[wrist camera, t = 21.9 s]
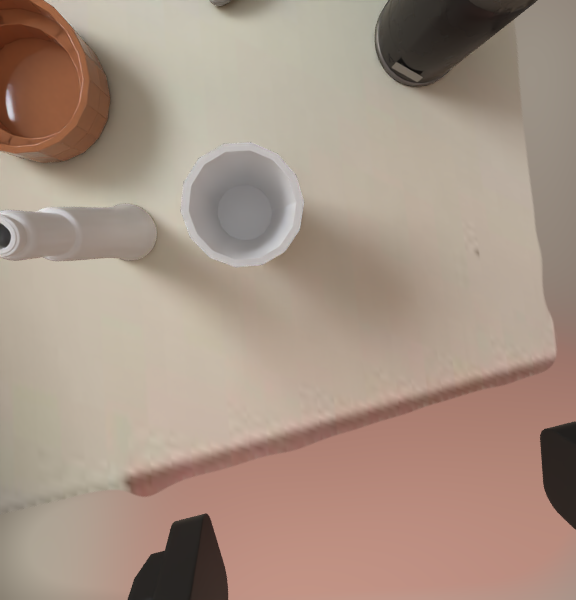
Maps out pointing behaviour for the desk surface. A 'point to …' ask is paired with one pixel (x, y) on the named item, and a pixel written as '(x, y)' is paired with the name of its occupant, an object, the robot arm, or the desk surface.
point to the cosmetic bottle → (77, 233)
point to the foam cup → (242, 204)
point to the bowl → (47, 85)
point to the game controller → (219, 2)
